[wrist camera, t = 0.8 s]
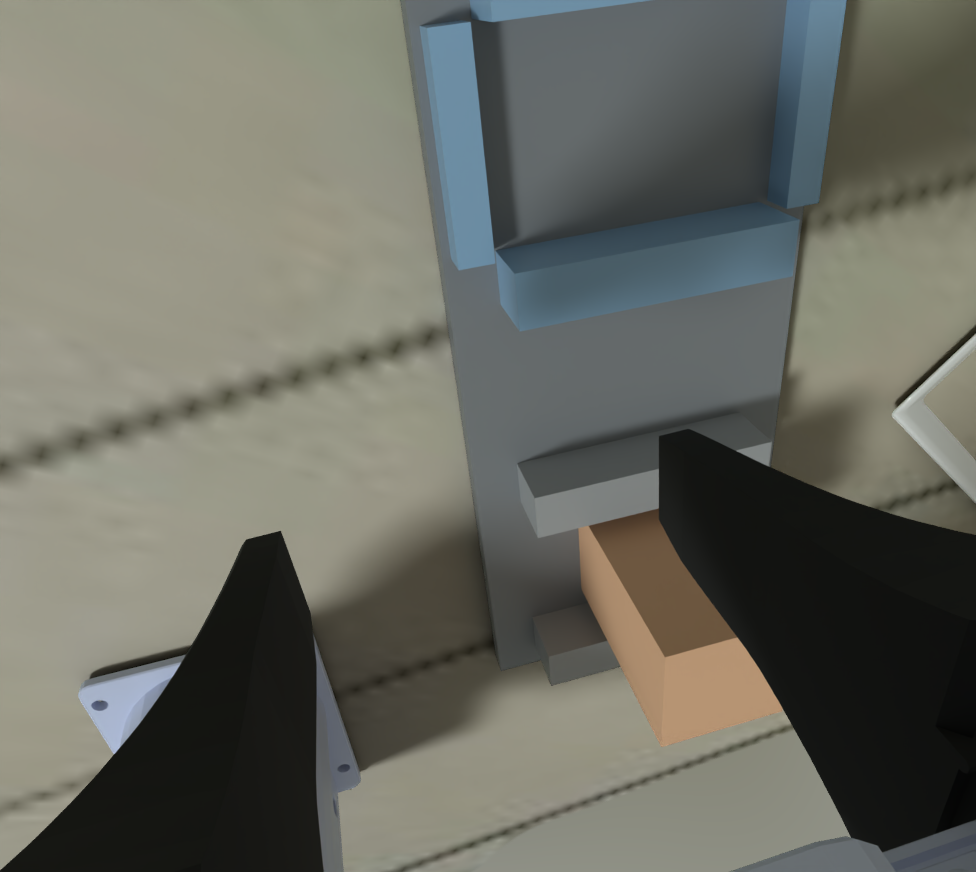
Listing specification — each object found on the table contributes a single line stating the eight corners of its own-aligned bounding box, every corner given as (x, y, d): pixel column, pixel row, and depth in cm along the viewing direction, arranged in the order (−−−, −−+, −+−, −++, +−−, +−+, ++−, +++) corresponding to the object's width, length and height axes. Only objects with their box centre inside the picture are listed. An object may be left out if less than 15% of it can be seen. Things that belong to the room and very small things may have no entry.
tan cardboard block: (679, 564, 28) (781, 710, 23) (581, 589, 28) (661, 746, 22) (683, 480, 26) (797, 620, 21) (577, 506, 26) (664, 657, 20)
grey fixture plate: (743, 589, 31) (780, 637, 29) (496, 655, 30) (514, 712, 27) (828, -150, 18) (910, -171, 16) (385, -102, 16) (403, -117, 14)
